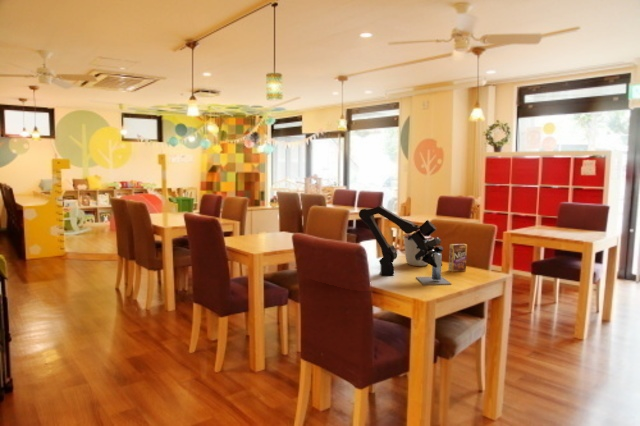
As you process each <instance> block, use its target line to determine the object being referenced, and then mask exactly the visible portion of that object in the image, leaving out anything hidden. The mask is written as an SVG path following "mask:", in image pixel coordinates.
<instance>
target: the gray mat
mask: <svg viewBox="0 0 640 426" xmlns="http://www.w3.org/2000/svg"><path fill="white" fill-rule="evenodd" d="M415 279H416V280H417V281H418V282H419V283H420V284H422V285H423V286H434V285H435V286H436V285H437V286H440V285H441V286H444V285H445V286H446V285H447V286H449V285H450V286H451V285H452V282H450V281H449V280H447V279H446V277H443V276H441V280H433V279H432V276H416V277H415Z"/></svg>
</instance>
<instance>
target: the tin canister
mask: <svg viewBox="0 0 640 426" xmlns="http://www.w3.org/2000/svg"><path fill="white" fill-rule="evenodd" d="M442 255H443V254H442V252H441V253H433V260H434V261H435V263H436V265H437V267H436V268H435V267H433V266H431V277H432V279H433V280H441V277H442V266H441V262H443V261H442V260H443V257H442Z"/></svg>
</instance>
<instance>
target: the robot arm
mask: <svg viewBox="0 0 640 426" xmlns="http://www.w3.org/2000/svg"><path fill="white" fill-rule="evenodd" d="M375 215H380V216H381V217H383V218H385V219H386V220H388V221H390V222H391V223H394V224H395V225H396V226H397V227H399V229H400V230H401V231H402V232H404V234H406V235H407V234H412V235H408V240H410V241H411V240H413V241H414V242H415V244H416V245H417V247H416V248H417V249H420V251H419V252H418V253H417V254H416V255H415V259H416V260H417V261H418V260H420V257H422V258H423V259H422V260H421V261H424V262H426V263H428V265H430V266H431V267H432V266H433V267H435V268H436V267H437V265H436V263H435V261H434V260H433V253H441V254H442V252H443V251H444V247H443V246H442V245H441V243H442V239H440V238H439V237H438V236H437V237H433V238H434V239H433V240H431V241H430V240H426V239H425V237H424V236H429V235H430V236H432V234H433V233H435V232H436V231H437V226H435V225H434V224H435V223H433V222H431V221H430V220H429V219H427V220H425V221H424V223H423V224H421V225H418V224H416V223H415V222H413V221H411V220H408V219H405V218H403V217H400V216H399V215H397V214H395V213H393V212H392V211H390V210H388V209H387V208H385V207H384V205H379V206H376V207H373V208H369V207H366V208H361V209H360V210H359V211H358V217H359V218H360V219H361V220H362V222H363V223H364V224H366V225H367V226H368V228H369V230H370V232H371V234H372V235H373V236H374V238H375V240H376V242H377V244H378V245H379V247H380V249H381V250H380V251H381V255H382V258H381V259H379V260H378V262H379V264H380V265H379V267H380V269H379V270H380V272H379V274H380V276H382V277H383V276H384V277H387V276H388V277H389V276H390V277H391V276H392V277H393V276H394V274H395V266H394V261H395V260H396V259H397V257H398V250H397V249H396V248H395V245H394V244H392V245H390V244H389V242H388V241H387V239H386V237H385V236H384V234H383V233H382V231H381V229H380V227H379V226H378V224H377V222H376V219H375ZM417 230H419V231H418V232H416V231H417ZM422 234H423V235H424V236H423V235H422ZM442 262H443V261H441V267H443V263H442Z"/></svg>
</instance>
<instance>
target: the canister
mask: <svg viewBox="0 0 640 426" xmlns="http://www.w3.org/2000/svg"><path fill="white" fill-rule="evenodd" d="M419 230H420V229H419ZM419 230H417V231H415V232H418V231H419ZM412 234H413V233H410V234H407V233H406V234H405V235H403V236H402V238H403V241H404V242H403V243H404V254H405V256H404V257H405V261H406V263H407V264H408V265H409V266H414V267H425V266H428V265H429V264H428V263H426V262H424V261H421V260H422V259H423V258H422V257H420V260H418V261H417V260H416V259H415V255H416V254H417V253H418V252H419V251H420V249H417V248H416V247H417V245H416V244H415V242H414V241H413V240H411V241H410V240H408V235H412ZM422 235H423V234H422ZM423 236H424V235H423ZM424 237H425V239H426V240H430V241H431V240H434V238H435V237H433V236H432V235H429V236H424Z"/></svg>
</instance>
